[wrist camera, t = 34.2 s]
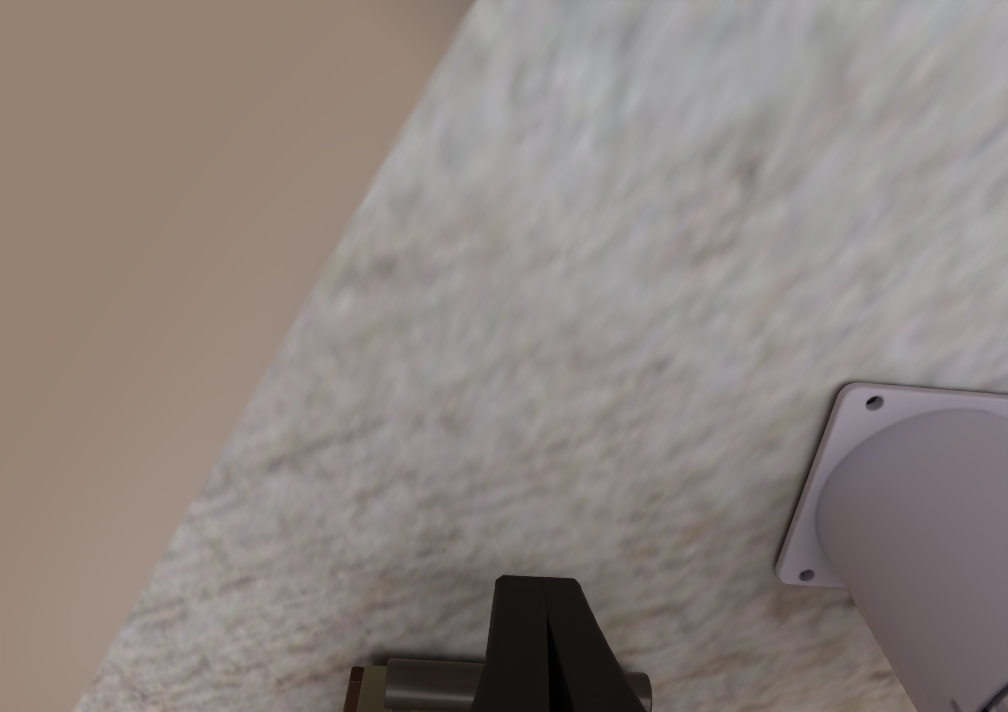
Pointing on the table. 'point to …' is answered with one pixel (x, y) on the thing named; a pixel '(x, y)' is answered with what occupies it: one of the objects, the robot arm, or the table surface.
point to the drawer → (440, 686)
